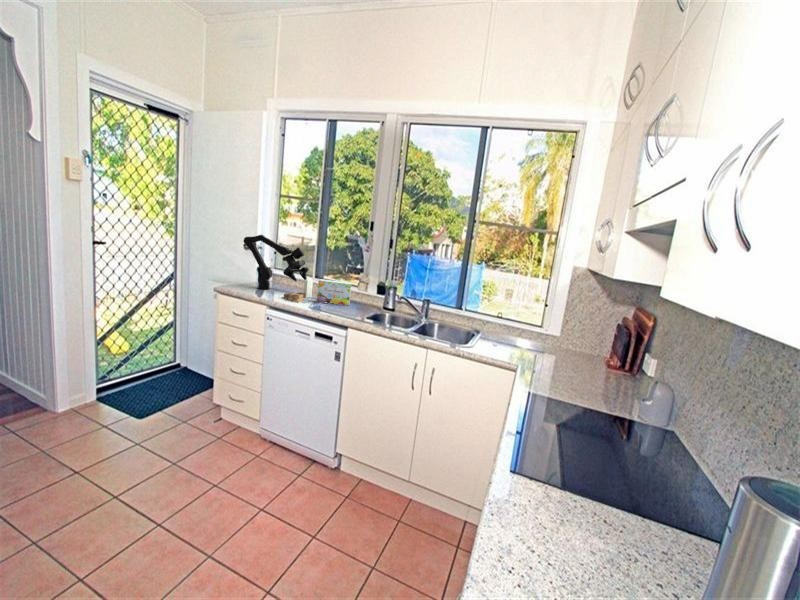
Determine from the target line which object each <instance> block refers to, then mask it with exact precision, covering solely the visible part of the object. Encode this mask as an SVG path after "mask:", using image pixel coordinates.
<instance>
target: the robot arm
mask: <svg viewBox="0 0 800 600" xmlns="http://www.w3.org/2000/svg"><path fill="white" fill-rule="evenodd" d="M257 242H261V243H264V244H265V245H267V246H269V247H270V248H272V249H274V250H275V251H276V252H277V253H278V254H280V255H281V256H283V257H282V262H286V263H287V267H286V268H285V269H284V270H283V276H286V277H288V278H290V279H291V280H293V281H294V282H297V280H298V279H297V278H296V276H295V273H299V274H300V277H301V278H302V279H303V281H304V280H308V279H307V273H308V272H309V267H307V266H306V267H305V265H306V261H305V260H304V259H302V260H300V259H301V258H303V257H304V256H305V252H304V251H303V250H302V249H301V248H300V247H299V246H298V247H296V248H295V249H293V250H292V249H290V248H288V247H287V246H284V245H283V244H282V245H281V244H278V243H277V242H275V241H274V240H272V239H270V238H268V237H266V236H265V235H264V234H259V235H255V236H245V237H244V238H243V243H244V245H245V246H246V247H247V248H248V249H249V250H250V252H251V254H252V255H253V257H254V259H255V261H256V263H257V265H258V266H259V270H260V276H259V277H258V287H257V289H258V290H264V291H267V290H270V285H271V284H270V279H271V278H273V275H274V274H273V272H274V271H273V270H272V267H271V266H269V267H268V266H267V264H266V263H265V260H264V258H263V257H262V255H261V254H260V251H259V249H258V247H257ZM296 260H297V261H296Z"/></svg>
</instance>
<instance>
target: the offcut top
mask: <svg viewBox="0 0 800 600" xmlns="http://www.w3.org/2000/svg"><path fill="white" fill-rule="evenodd" d="M291 293H292V294H290V298H294V299H303V295H302V294H296V293H297V292H291Z"/></svg>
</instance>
